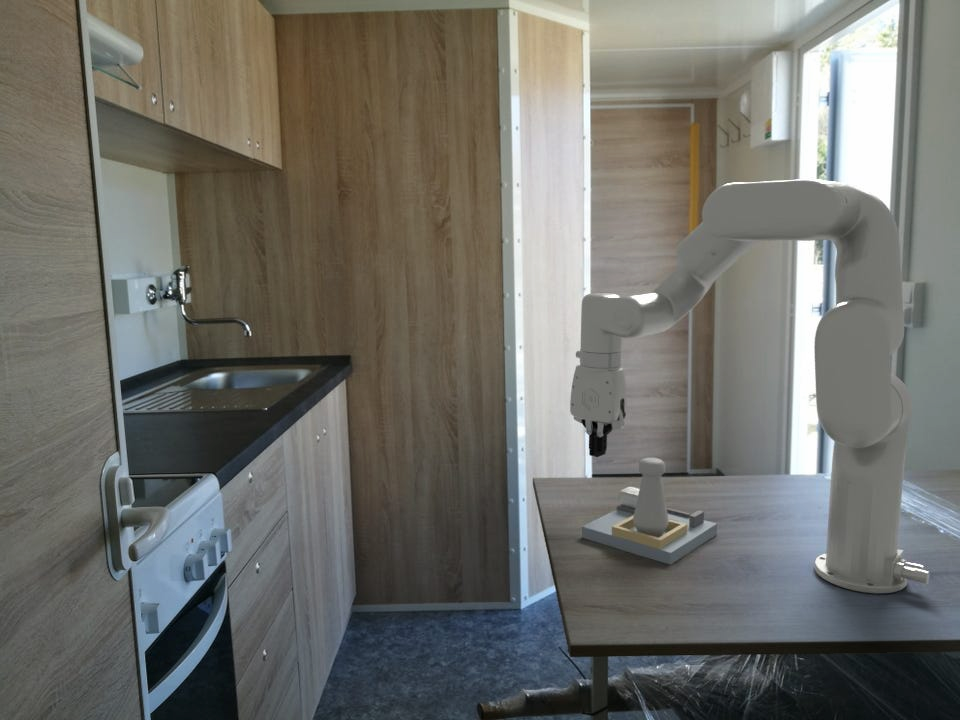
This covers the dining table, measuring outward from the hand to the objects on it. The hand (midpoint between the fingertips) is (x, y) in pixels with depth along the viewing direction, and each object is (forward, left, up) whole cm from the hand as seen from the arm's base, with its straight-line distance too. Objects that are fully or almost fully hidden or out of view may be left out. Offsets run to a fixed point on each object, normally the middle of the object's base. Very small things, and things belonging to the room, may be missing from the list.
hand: (597, 454), depth 142 cm
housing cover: (-9, 0, -8) cm, 12 cm away
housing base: (-15, +5, -11) cm, 19 cm away
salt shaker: (-17, +9, -9) cm, 21 cm away
